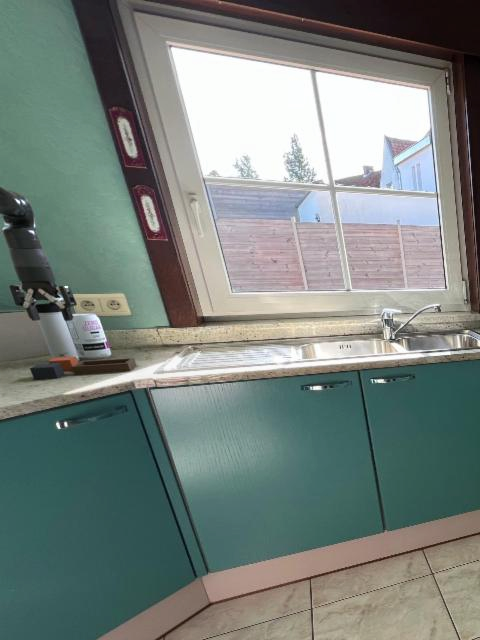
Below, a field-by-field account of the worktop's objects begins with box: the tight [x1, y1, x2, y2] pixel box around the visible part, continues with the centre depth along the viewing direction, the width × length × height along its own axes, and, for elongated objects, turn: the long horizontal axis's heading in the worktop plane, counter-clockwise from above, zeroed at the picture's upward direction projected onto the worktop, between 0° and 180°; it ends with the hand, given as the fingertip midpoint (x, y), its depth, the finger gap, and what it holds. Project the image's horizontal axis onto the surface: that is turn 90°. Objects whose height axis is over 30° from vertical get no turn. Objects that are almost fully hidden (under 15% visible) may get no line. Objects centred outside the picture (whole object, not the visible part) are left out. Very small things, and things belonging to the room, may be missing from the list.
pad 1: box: [29, 363, 65, 381], centre depth 149 cm, size 5×6×4 cm
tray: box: [72, 357, 137, 376], centre depth 159 cm, size 13×9×3 cm
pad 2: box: [47, 356, 79, 372], centre depth 158 cm, size 5×6×4 cm
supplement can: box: [66, 312, 112, 360], centre depth 173 cm, size 8×8×15 cm
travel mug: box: [34, 301, 81, 362], centre depth 165 cm, size 6×7×20 cm
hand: (52, 320), depth 152 cm, fingers open, 8 cm apart
